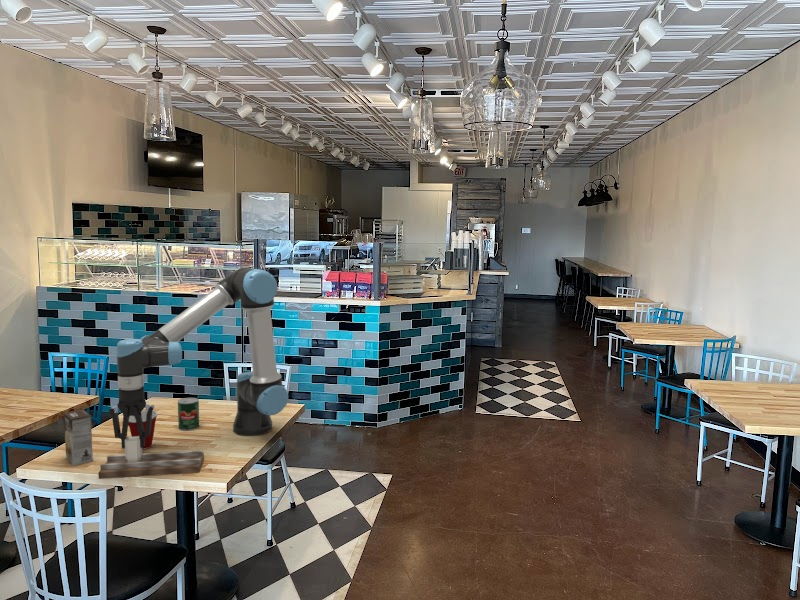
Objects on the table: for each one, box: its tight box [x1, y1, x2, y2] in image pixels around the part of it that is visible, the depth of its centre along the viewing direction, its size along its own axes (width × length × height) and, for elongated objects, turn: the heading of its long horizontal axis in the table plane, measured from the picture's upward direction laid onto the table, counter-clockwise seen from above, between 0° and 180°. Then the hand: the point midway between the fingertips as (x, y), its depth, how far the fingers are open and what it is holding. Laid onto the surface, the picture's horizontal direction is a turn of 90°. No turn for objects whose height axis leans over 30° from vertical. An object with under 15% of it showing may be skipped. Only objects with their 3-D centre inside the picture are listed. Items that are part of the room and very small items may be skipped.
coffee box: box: [63, 408, 94, 466], centre depth 193 cm, size 9×6×16 cm
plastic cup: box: [128, 409, 158, 450], centre depth 206 cm, size 11×11×12 cm
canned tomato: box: [177, 397, 200, 432], centre depth 227 cm, size 8×8×11 cm
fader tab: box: [127, 436, 141, 463], centre depth 187 cm, size 3×4×8 cm
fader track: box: [98, 450, 205, 480], centre depth 188 cm, size 30×12×4 cm, turn 101°
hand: (133, 457), depth 187 cm, fingers closed on fader tab, 3 cm apart
